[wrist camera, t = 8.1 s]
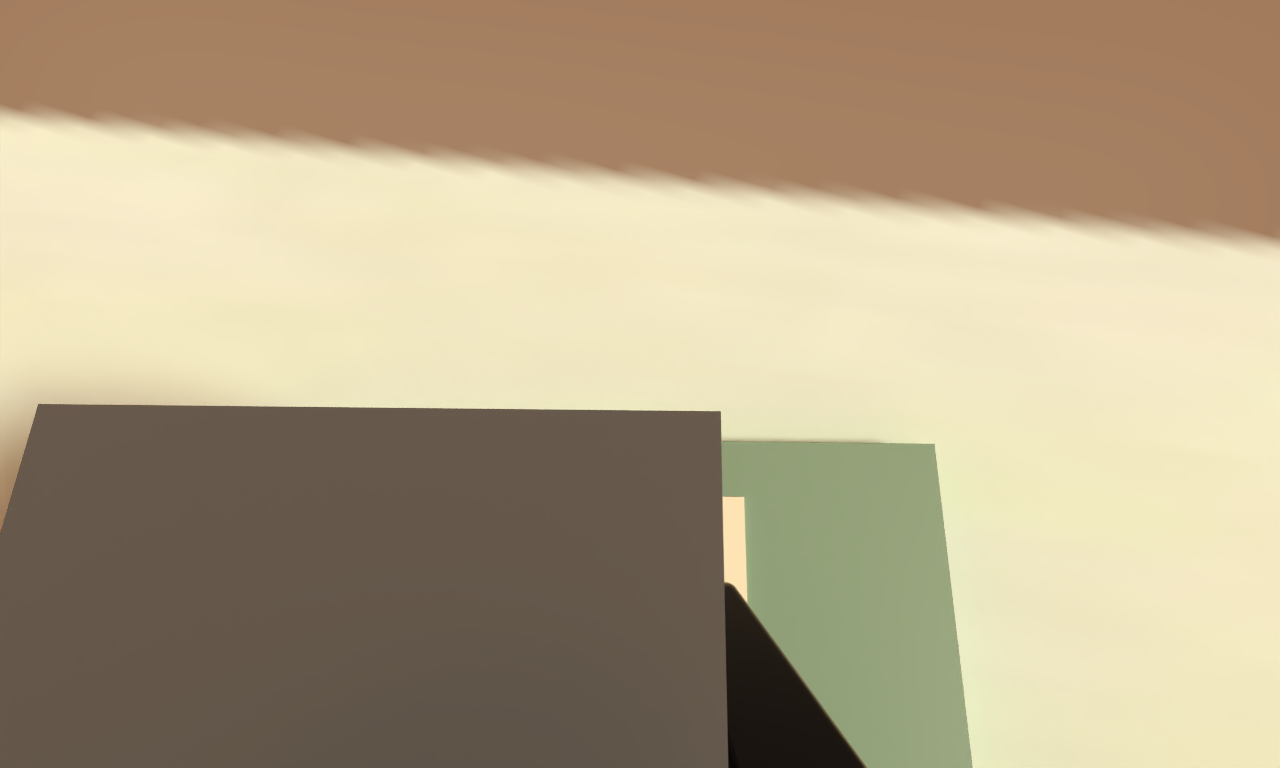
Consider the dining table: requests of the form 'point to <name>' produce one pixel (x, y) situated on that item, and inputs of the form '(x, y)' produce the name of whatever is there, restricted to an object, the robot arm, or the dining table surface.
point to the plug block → (364, 589)
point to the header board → (853, 588)
